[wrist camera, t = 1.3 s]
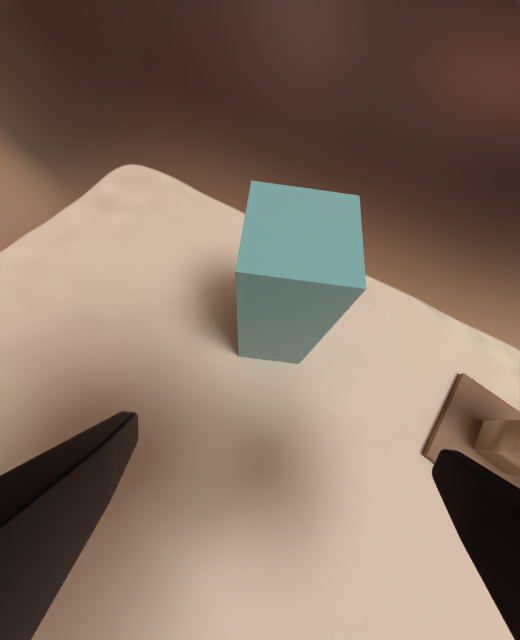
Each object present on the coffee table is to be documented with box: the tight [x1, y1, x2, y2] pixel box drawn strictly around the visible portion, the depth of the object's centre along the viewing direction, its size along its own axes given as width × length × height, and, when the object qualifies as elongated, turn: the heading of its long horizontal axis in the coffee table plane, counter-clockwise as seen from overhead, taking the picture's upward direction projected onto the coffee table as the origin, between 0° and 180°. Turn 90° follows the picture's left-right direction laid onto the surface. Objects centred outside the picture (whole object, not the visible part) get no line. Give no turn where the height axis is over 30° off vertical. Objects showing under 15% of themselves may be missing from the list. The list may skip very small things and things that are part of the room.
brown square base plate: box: [422, 373, 520, 488], centre depth 18 cm, size 8×8×4 cm
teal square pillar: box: [235, 181, 366, 364], centre depth 17 cm, size 5×5×12 cm
